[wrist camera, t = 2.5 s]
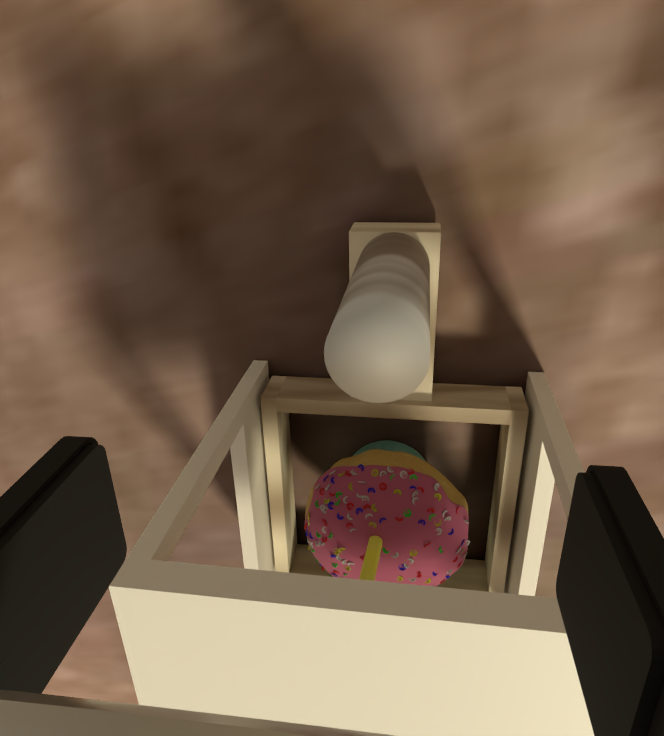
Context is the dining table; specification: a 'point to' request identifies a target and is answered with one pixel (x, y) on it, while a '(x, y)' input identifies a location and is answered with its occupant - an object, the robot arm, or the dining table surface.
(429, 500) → the cupcake
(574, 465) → the white open frame box
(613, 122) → the dining table surface
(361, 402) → the cream frame with post
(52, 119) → the dining table surface
